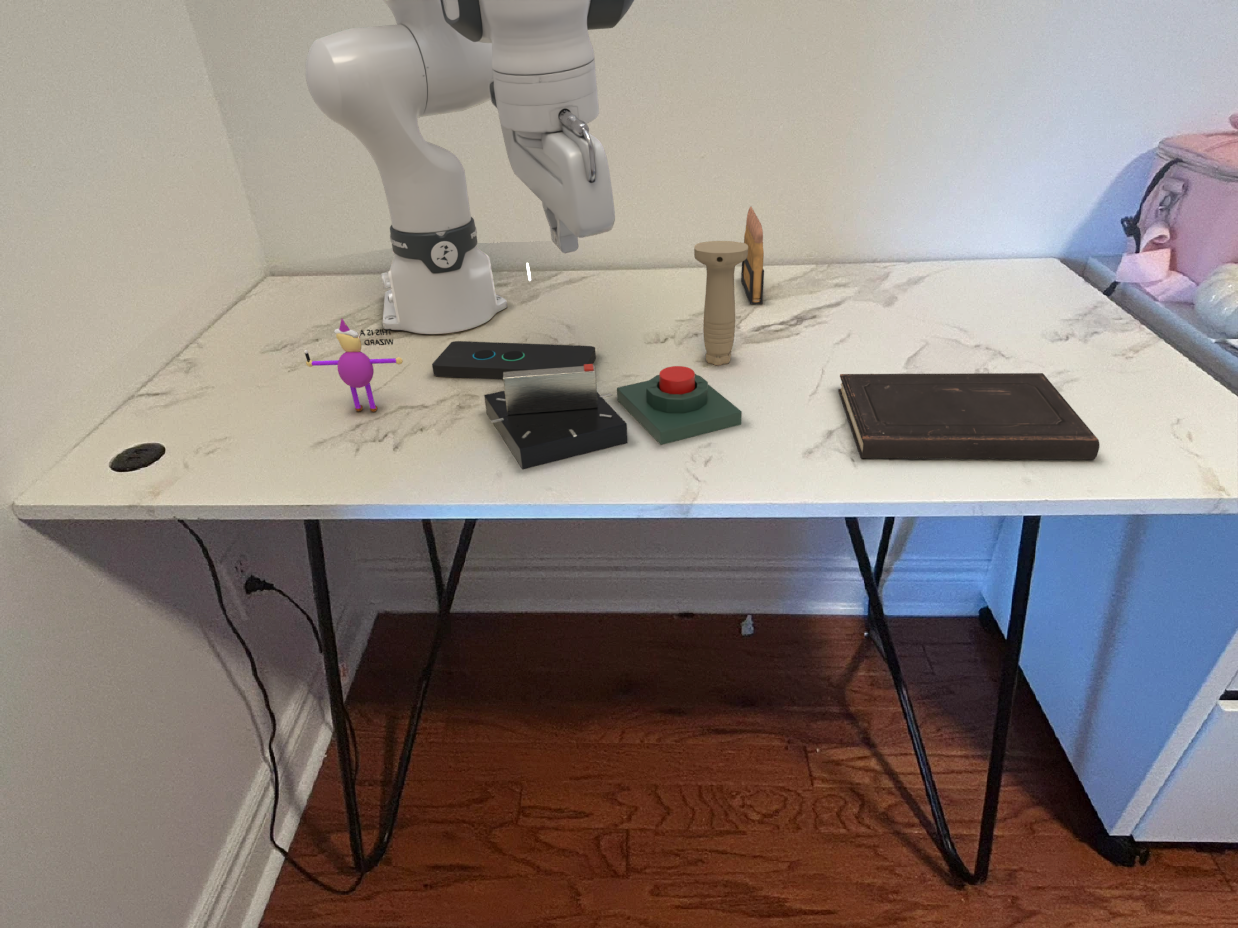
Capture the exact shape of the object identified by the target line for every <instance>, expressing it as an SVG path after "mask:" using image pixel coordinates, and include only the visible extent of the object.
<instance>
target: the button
mask: <svg viewBox="0 0 1238 928" xmlns="http://www.w3.org/2000/svg"><path fill="white" fill-rule="evenodd" d="M695 374H696V373H695V370H693V369H692V368H691V367H688V366H683V365H672V366H667V367H664V368H663V369H661V370H660V371H659V374H658V375H659V387H660V390H661V392H665V393H668V394H685V393H689V392H692V391H693V390H694V389H695Z"/></svg>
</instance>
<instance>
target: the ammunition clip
mask: <svg viewBox="0 0 1238 928" xmlns="http://www.w3.org/2000/svg"><path fill="white" fill-rule="evenodd" d="M745 221H746V222H745V223H746V224H745V230H744V236H743V243H745V244H747V245H748V256H747V258H746V259H745V260H744V261H743V262H741V269H740V270H741V273H740V282H741V285H742V288H743V290H744V294H745V295H746V298H747V300H748V303H749V305H763V301H764V283H765V281H764V280H765V270H764V255H765V253H764V230H763V226H762V223H761V221H760V219H759V218H758V216H757V214H756V212H755V210H754V209H753V207H752V206H749V207H748V211H747V214H746V220H745Z"/></svg>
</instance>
